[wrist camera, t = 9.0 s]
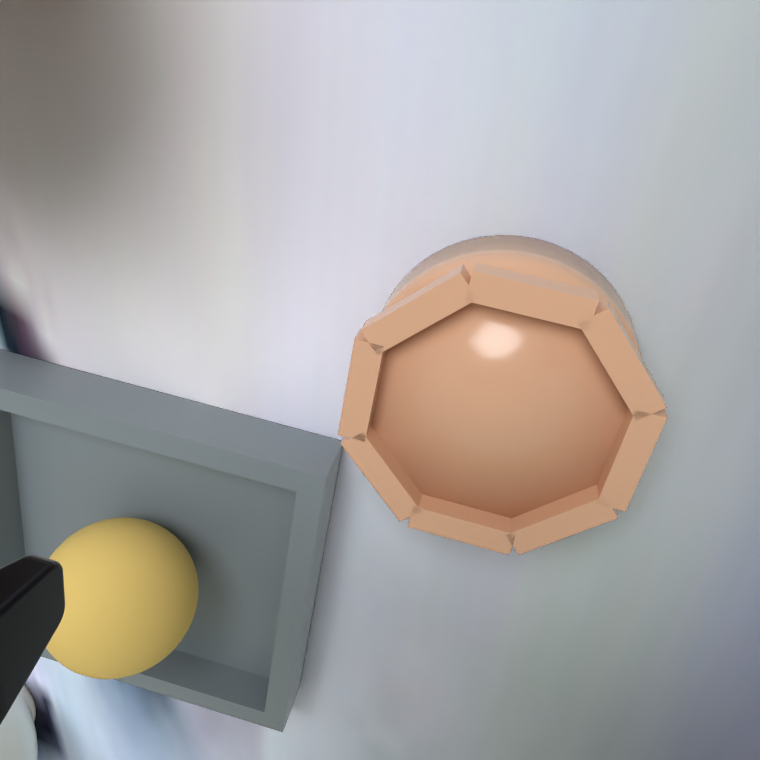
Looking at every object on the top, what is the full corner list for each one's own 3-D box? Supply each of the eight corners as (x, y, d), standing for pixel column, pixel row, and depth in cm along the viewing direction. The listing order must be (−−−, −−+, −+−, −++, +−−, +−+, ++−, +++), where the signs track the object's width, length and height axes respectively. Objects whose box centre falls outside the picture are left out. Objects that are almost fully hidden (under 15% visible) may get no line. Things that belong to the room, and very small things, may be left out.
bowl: (678, 271, 17) (707, 326, 14) (587, 495, 21) (595, 579, 18) (400, 207, 18) (370, 246, 15) (357, 434, 22) (326, 504, 19)
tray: (343, 441, 22) (326, 477, 20) (299, 687, 28) (282, 732, 26) (-5, 347, 23) (-50, 374, 21) (23, 603, 29) (-10, 640, 27)
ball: (225, 507, 23) (159, 620, 19) (216, 610, 26) (157, 731, 22) (84, 472, 24) (-12, 575, 19) (89, 577, 26) (5, 690, 22)
